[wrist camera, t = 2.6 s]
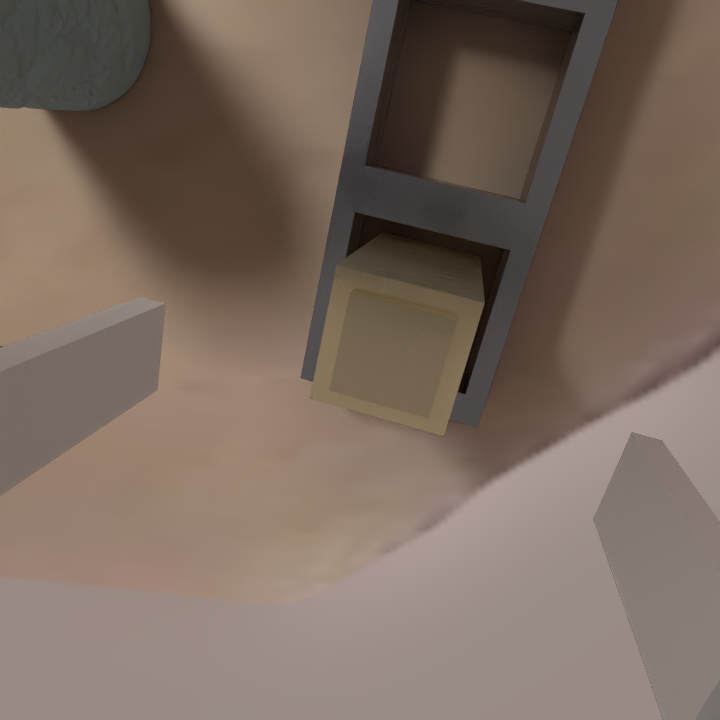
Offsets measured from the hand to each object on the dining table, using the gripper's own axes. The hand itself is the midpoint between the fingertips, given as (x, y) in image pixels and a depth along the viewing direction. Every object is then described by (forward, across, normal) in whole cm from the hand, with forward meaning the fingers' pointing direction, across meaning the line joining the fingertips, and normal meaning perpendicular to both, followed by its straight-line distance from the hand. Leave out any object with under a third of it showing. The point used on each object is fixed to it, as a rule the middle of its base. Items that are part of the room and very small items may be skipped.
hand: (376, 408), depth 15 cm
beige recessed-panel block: (+14, 0, 0) cm, 14 cm away
